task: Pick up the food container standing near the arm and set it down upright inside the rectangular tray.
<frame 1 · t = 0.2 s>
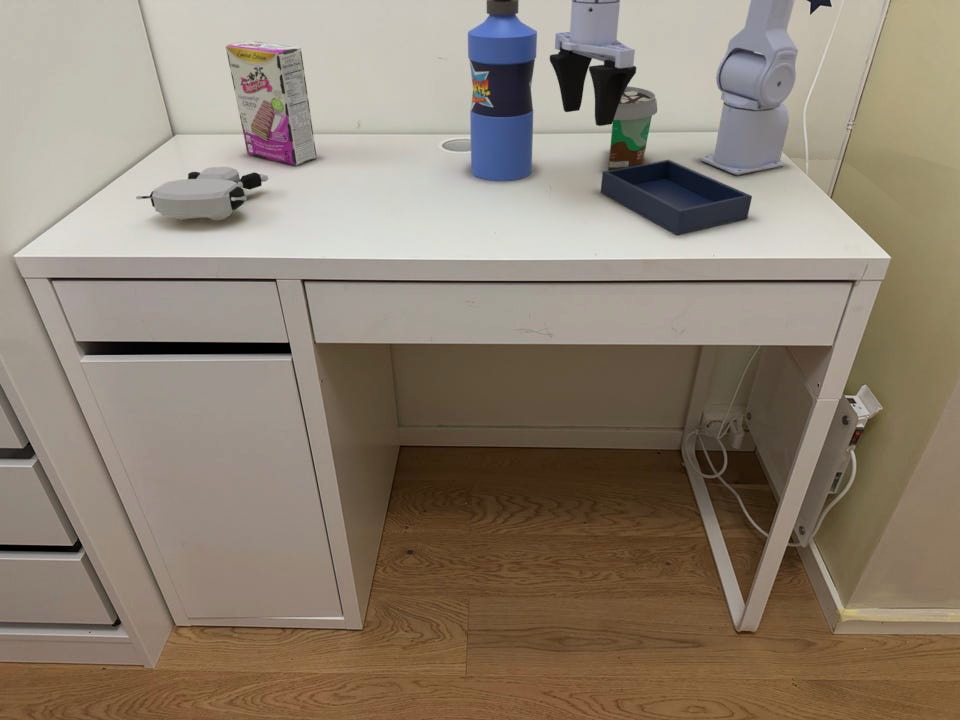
hand: (587, 117, 90), 10 cm above the table, tool pointing down, fingers open, 7 cm apart
rectangular tray: (670, 205, 91), on the table
water bottle: (501, 172, 103), on the table
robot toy: (213, 210, 92), on the table
food container: (629, 164, 105), on the table
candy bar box: (282, 158, 110), on the table
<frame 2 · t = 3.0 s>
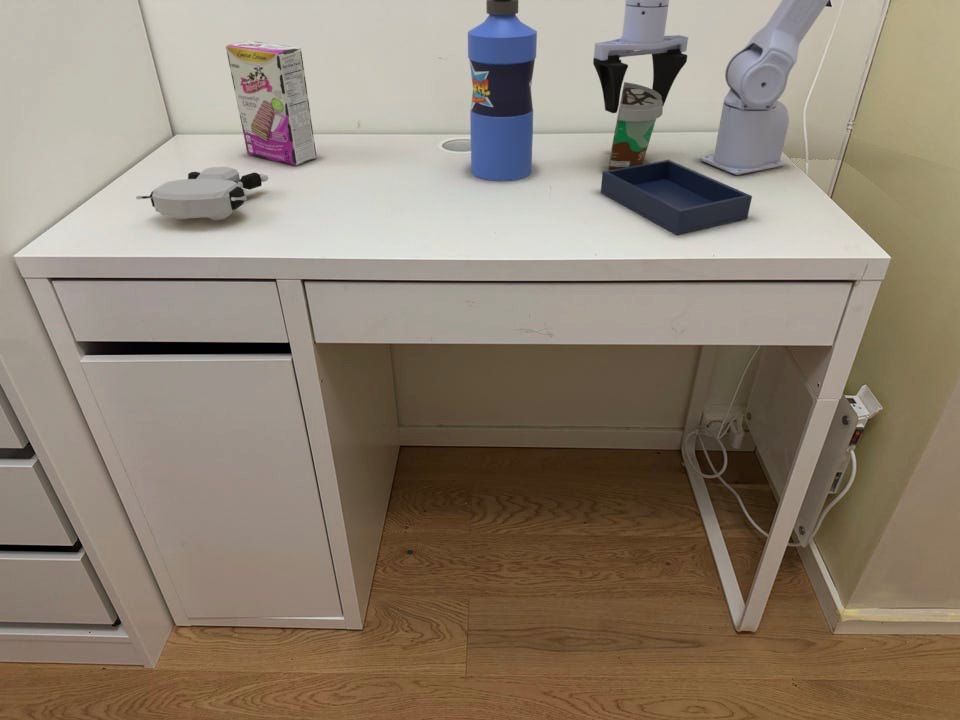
hand: (634, 108, 101), 8 cm above the table, tool pointing down, fingers open, 7 cm apart
food container: (629, 163, 105), on the table, touching gripper
everything else where it was.
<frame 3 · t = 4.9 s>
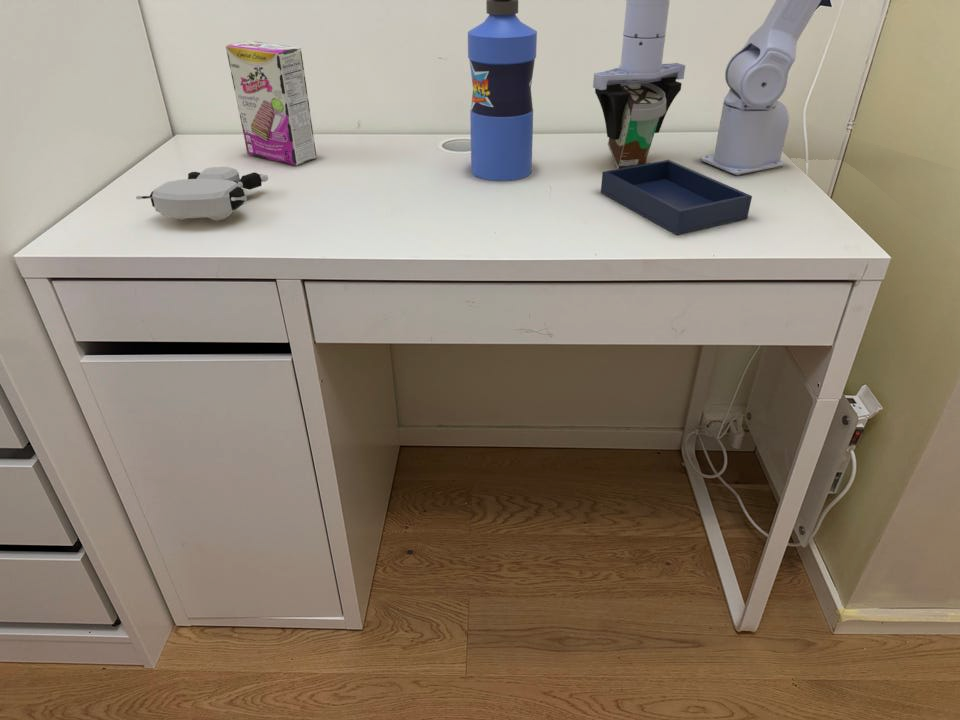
hand: (633, 134, 103), 4 cm above the table, tool pointing down, fingers closed on food container, 7 cm apart
food container: (632, 159, 105), point 1 cm above the table, touching gripper
everything else where it was.
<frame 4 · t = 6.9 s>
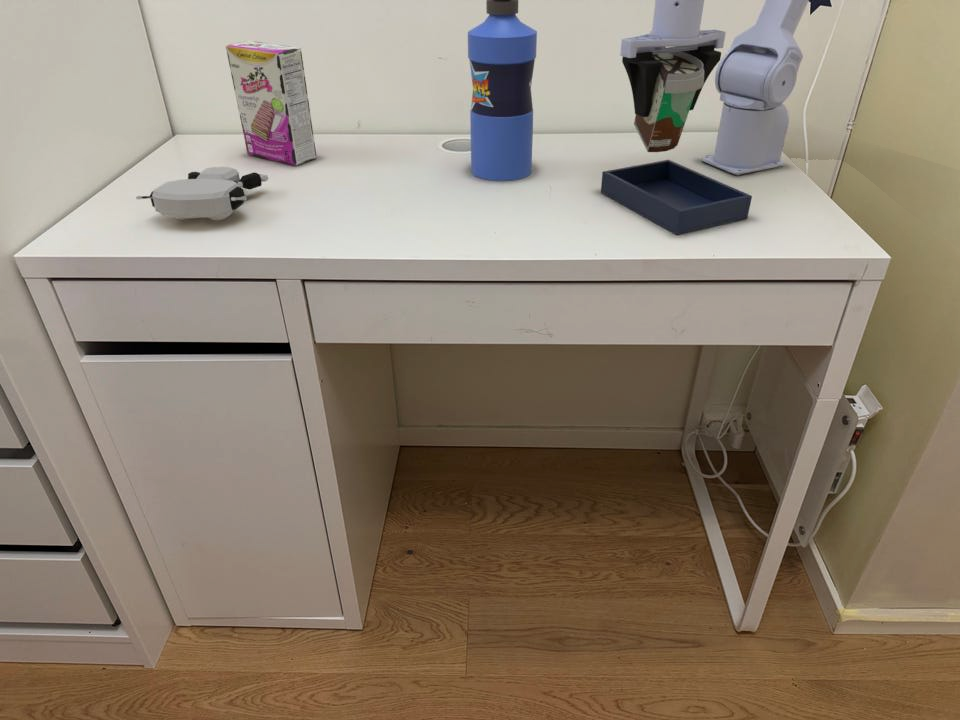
hand: (664, 111, 90), 10 cm above the table, tool pointing down, fingers closed on food container, 7 cm apart
food container: (662, 140, 92), point 7 cm above the table, touching gripper
everything else where it was.
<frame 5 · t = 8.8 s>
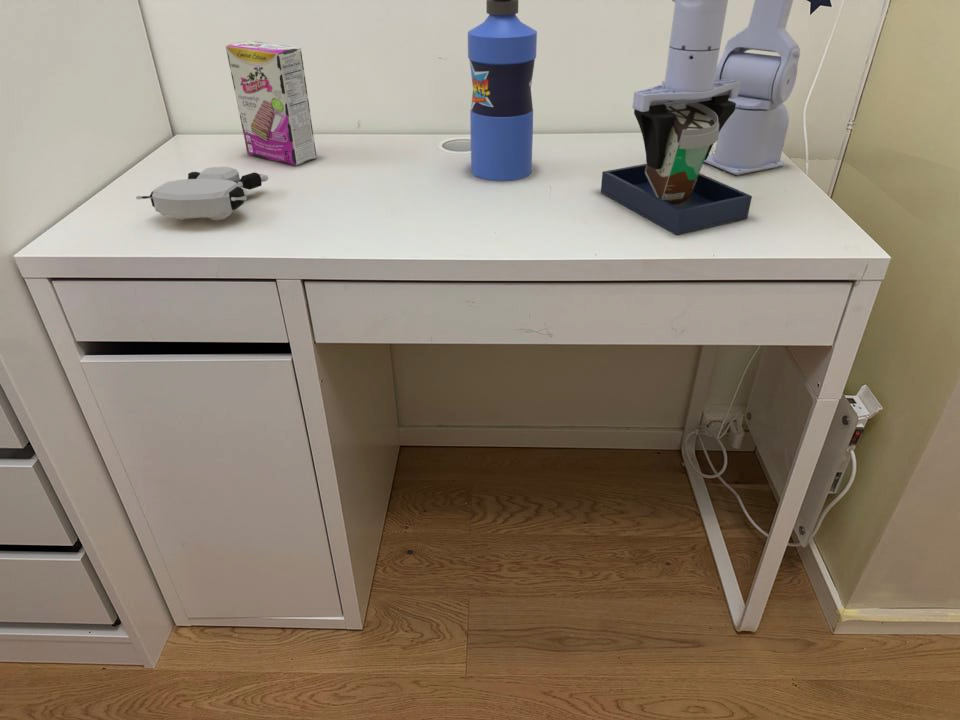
hand: (677, 162, 88), 6 cm above the table, tool pointing down, fingers closed on food container, 7 cm apart
food container: (675, 190, 89), point 2 cm above the table, touching gripper
everything else where it was.
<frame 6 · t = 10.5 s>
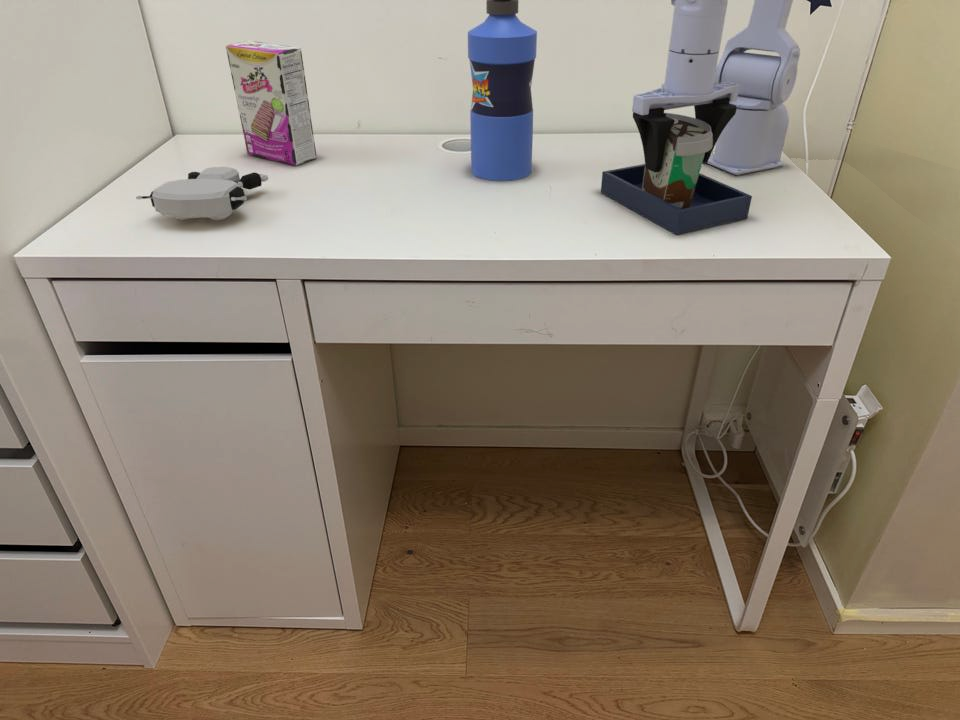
hand: (676, 165, 88), 5 cm above the table, tool pointing down
food container: (673, 203, 90), resting on rectangular tray, touching gripper
everything else where it was.
when the fingers open (5 cm above the table, at t = 10.5 s): food container stays where it is, resting on rectangular tray.
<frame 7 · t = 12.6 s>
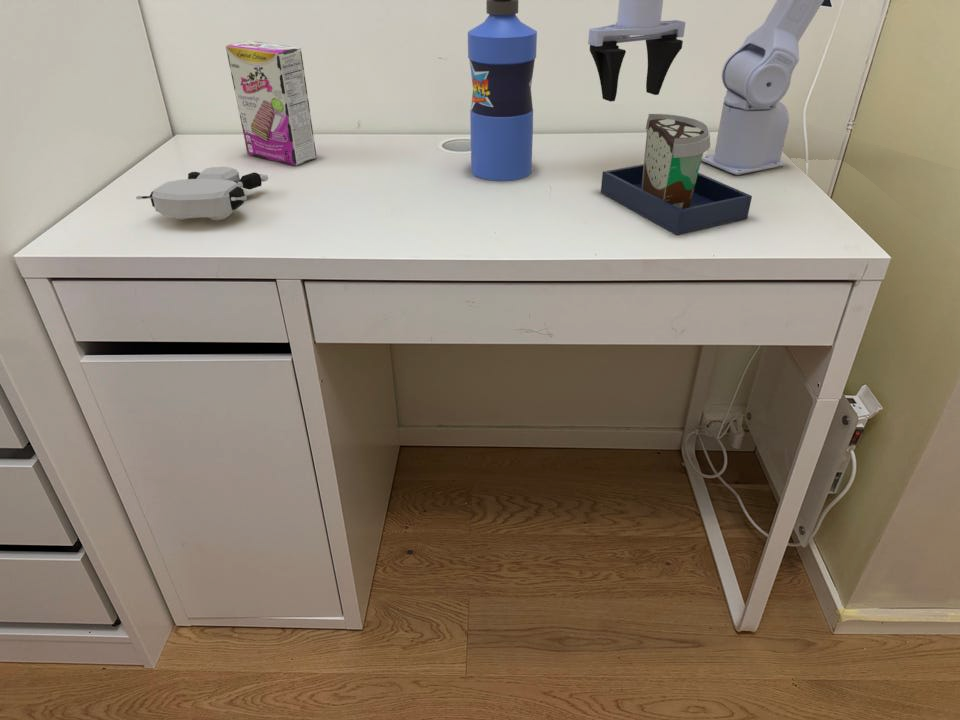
hand: (630, 96, 98), 10 cm above the table, tool pointing down, fingers open, 7 cm apart
food container: (673, 204, 90), resting on rectangular tray
everything else where it was.
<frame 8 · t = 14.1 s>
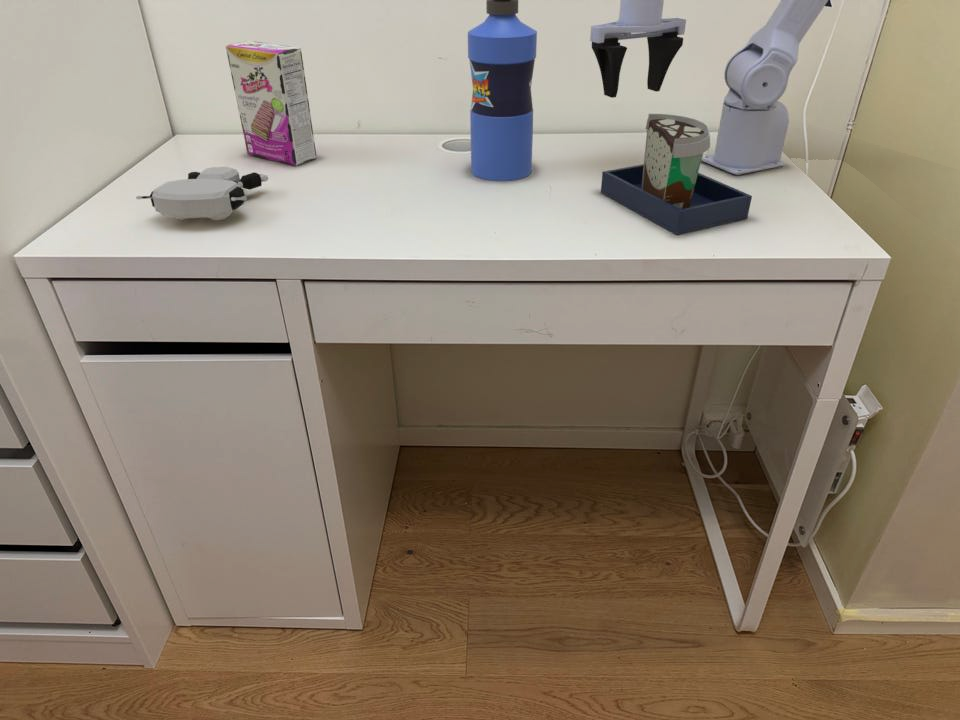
hand: (632, 93, 99), 10 cm above the table, tool pointing down, fingers open, 7 cm apart
nothing on the table moved.
at the end: food container inside the target area in the rectangular tray (0.5 cm from its centre), point 0.3 cm above the rectangular tray's base; food container tilted 0°; the gripper is holding nothing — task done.
